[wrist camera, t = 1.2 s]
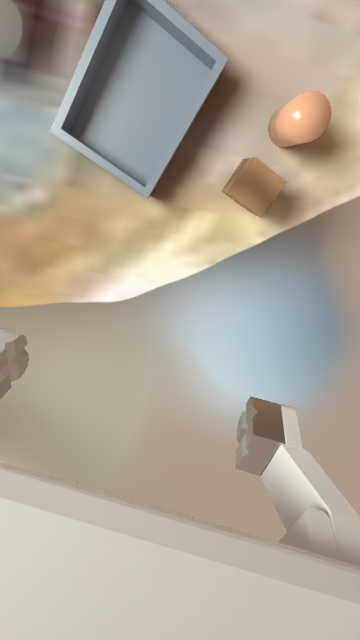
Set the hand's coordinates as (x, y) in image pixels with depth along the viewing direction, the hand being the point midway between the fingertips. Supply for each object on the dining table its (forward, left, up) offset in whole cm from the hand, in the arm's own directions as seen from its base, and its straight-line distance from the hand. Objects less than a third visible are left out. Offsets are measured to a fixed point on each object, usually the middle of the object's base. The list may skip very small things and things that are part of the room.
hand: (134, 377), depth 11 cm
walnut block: (-11, +7, -41) cm, 43 cm away
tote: (-11, -11, -41) cm, 44 cm away
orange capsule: (-20, +7, -41) cm, 46 cm away
